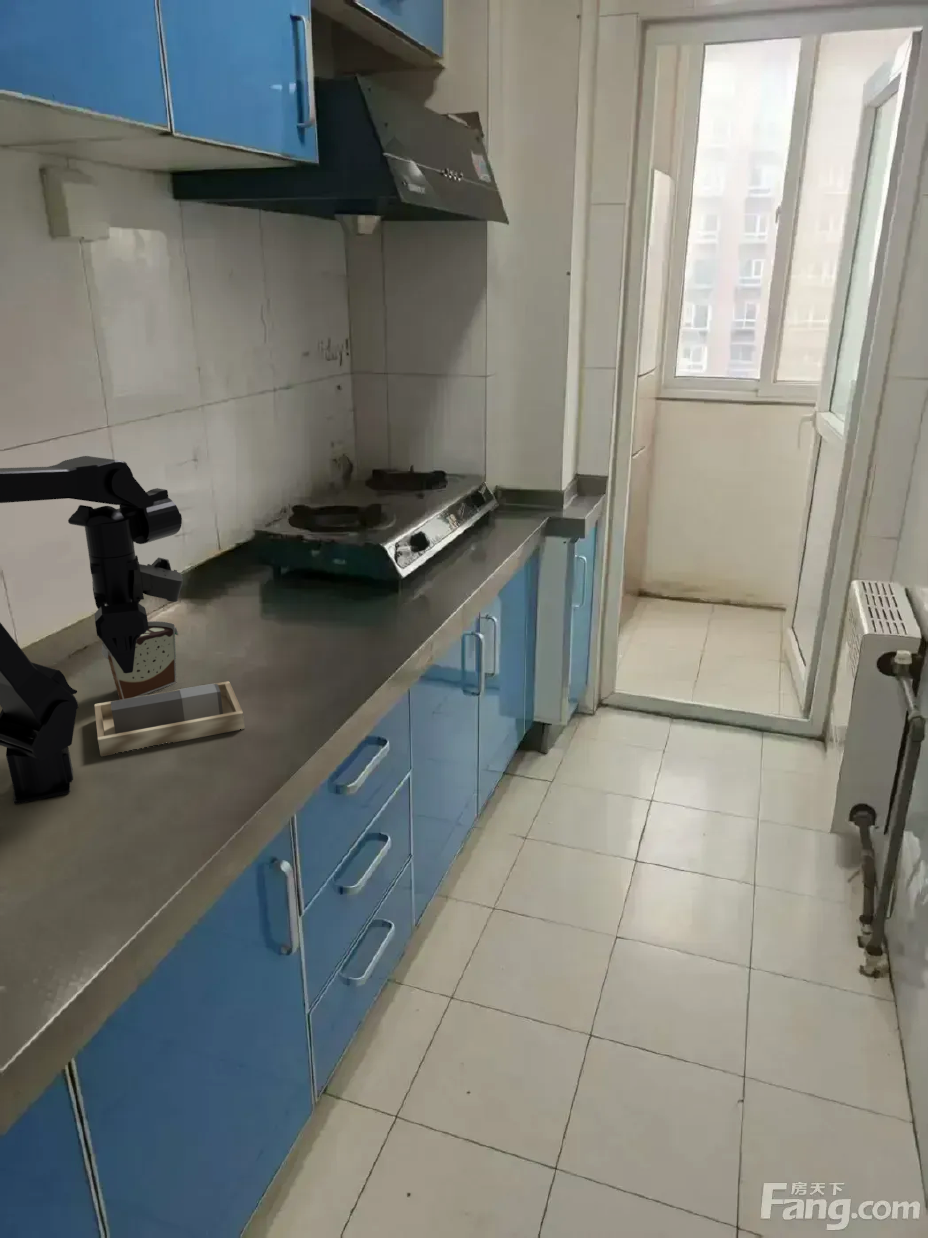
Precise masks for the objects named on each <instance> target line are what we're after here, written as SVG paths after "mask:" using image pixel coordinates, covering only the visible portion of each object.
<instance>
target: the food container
mask: <svg viewBox="0 0 928 1238" xmlns="http://www.w3.org/2000/svg"><path fill="white" fill-rule="evenodd" d="M148 628H149V629H148V630H147V631H146V633H144V634H142V635H141V636H140V637H139V638H138V639H137V640H136V648H135V657H134V666H133V672H132V673H124V672H123V671H122V669H121V668H120V666H119V665H118V663H117V662H116V660H115V659H114V657H113V656H112V654H111V653H110V651H109V650H108V648H107V647H106V646H105V644H104V643H103V642H102V643H101V655H102V656H103V658H105V659H106V660H108V663H109V666H110V670H111V674H112V676H113V682H114V685H115V689H116V692H117V694H118V698H119V699H118V700H122V699H128V698H133V697H139V696H145V695H149V694H152V693H153V692H156V691H159V690H161V689H163V688H167V687H168V686H171V685H173V684H176V683H177V662H176V661H177V660H176V659H177V658H176V657H177V656H176V655H177V654H176V636H180V635H179V631H178V629H177V627H176V626H175V623H173V622H168V621H160V620H159V621H158V620H154V621H153V620H152V621H148Z"/></svg>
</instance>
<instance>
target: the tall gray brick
mask: <svg viewBox="0 0 928 1238" xmlns="http://www.w3.org/2000/svg"><path fill="white" fill-rule="evenodd" d="M157 693H158V694H157ZM157 693H153V695H151V694H146V695H147V696H145V695H143V696H141V697H135V698H129V699H123V700H120V699H117V701H116V700H112V701H111V700H110V701H111V709H112V715H113V721H114V727H115V733H116V734H118V733H123V732H129V731H134V730H140V729H145V728H150V727H156V726H161V725H167V724H172V723H177V722H183V721H188V720H194V719H199V718H205V717H210V716H215V715H221V714H223V709H222V701H221V692H220V689H219V687H218V684H215V682H214V683H208V684H202V685H201V684H200V685H195V686H190V687H184V688H179V689H176V691H174V690H170V692H169V691H164V693H163V692H157Z"/></svg>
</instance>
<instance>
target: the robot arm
mask: <svg viewBox="0 0 928 1238" xmlns="http://www.w3.org/2000/svg"><path fill="white" fill-rule="evenodd" d="M64 499H69V500H78V501H85V502H91V503H92V502H93V503H97V504H98V503H99V504H106V505H103V506H99V507H92V506H89V505H83V504H79V505H78V507H77V510H76V511H75V512H73V513H72V514H71V516H70V517H69V518H68V520H67V521H68V523H69V524H70V525H74V526H79V527H84V531H85V537H86V544H87V545H86V546H87V551H88V559H89V568H90V569H89V570H90V574H91V579H92V593H93V597H94V598H93V599H94V602H95V603H94V604H95V606H96V608H97V610H96V611H95V613H94V623H95V624H94V625H95V630H96V636H98V638H99V639H100V640H101V641H102V643H104V644H105V646H106V647H107V648H108V650H109V651H110V653H111V654H112V656H113V657H114V659H115V660H116V662H117V663H118V665H119V666H120V668H121V669H122V671H123V672H124V673H132V672H133V666H134V657H135V648H136V640H137V639H138V638H139V637H140V636H141V635H142V634H144V633H146V631H147V630H148V629H149V628H148V615H147V614H148V613H147V610H146V607H145V606H144V605H142V604H140V602H141V601H142V600H145V598H144V597H145V596H144V595H147V596H150V597H154V598H160V599H165V600H167V601H168V602H171V603H176V602H178V600H179V597H180V592H181V589H182V586H183V582H184V579H183V576H182V574H181V573H180V572H178V571H177V569H173V570H172V567H171V563H170V561H169V559H167V558H164V557H163V558H162V557H157V558H156V559H155V560H154V561H153V562H152V563H151V564H150V563H147V564H141V563H140V562H139V559H138V558H139V557H138V555H137V554H136V552H135V551H136V550H135V544H138V545H144V544H147V543H152V542H154V541H158V540H161V539H164V538H167V537H171V536H174V535H176V534H177V533H178V532H180V529H181V528H182V525H183V519H182V518H183V517H182V513H180V511H179V508H178V506H177V505H176V503H175V501H174V500H172V499H171V498H169V492H168V489H164V488H158V487H157V488H152V489H149V490H148V491H145V489H144V488H143V487H142V485H141V484H140V483H139V482H138V481H137V479H136V478H135V477H134V475H133V472H132V469H131V468H130V466H129V465H128V463H127V462H126V461H123V460H120V459H112V458H105V457H99V456H89V455H83V456H79V457H78V456H77V457H74V458H70V459H65V460H62V461H61V462H59V463H56V464H55V465H54V464H53V465H49V466H29V467H27V466H26V467H24V466H23V467H0V504H8V503H21V502H33V501H35V502H36V501H37V502H38V501H50V500H52V501H53V500H64ZM107 504H108V505H107ZM111 505H112V506H111ZM113 505H115V506H119V508H115V507H113ZM134 543H135V544H134ZM76 694H78V690H76V689H75V688H73V687H71V686H70V685H69V683H68V681H67V678H66V677H65V675H64V673H63V672H61V670H59V669H56V668H52V667H50V666H46V665H43V664H39V663H36V662H33V661H31V660H30V658H28V657H27V655H26V654H25V652H24V650H23V649H22V648H21V647H20V646H19V645H18V644H17V642H16V640H15V639H14V638H13V637H12V636H11V634H10V633H9V632H8V630H7V629H6V628H5V627H4V625H3V624H2V622H0V707H1V711H0V746H1V747H4V748H6V753H5V757H6V762H7V765H8V771H9V775H10V781H11V784H12V788H13V793H12V794H13V796H12V800H13V802H12V803H13V804H15V805H19V804H23V803H28V802H33V801H36V800H38V801H39V800H43V799H48V798H51V797H57V796H61V795H63V796H64V795H67V794H69V793H70V792H71V783H72V782H73V781H74V770H73V764H72V760H71V754H70V749H69V747H70V746H71V745H72V743H73V737H74V732H75V722H76V716H77V711H78V709H79V702H78V699H77V698H76V696H75V695H76Z"/></svg>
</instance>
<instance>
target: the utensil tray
mask: <svg viewBox="0 0 928 1238" xmlns="http://www.w3.org/2000/svg"><path fill="white" fill-rule="evenodd" d="M214 684H218V687H219V689H220V692H221V701H222V709H223V714H221V715H215V716H210V717H205V718H199V719H194V720H188V721H183V722H177V723H172V724H167V725H161V726H156V727H150V728H145V729H140V730H134V731H129V732H123V733H118V734H116V733H115V727H114V721H113V715H112V709H111V700H110V701H105V702H99V703H95V704H94V713H95V714H94V715H95V723H96V733H97V734H96V735H97V742H98V743H97V744H98V749H99V754H100V757H106V756H111V755H116V754H119V753H118V752H122V753H125V752H124V751H127V752H129V751H128V750H131V749H137V750H140V749H139V748H142V749H145V748H144V747H147V748H149V747H148V746H153V745H158V744H162V743H166V742H167V743H168V744H170V743H169V742H173V743H177V742H183V741H189V740H194V739H198V738H204V737H208V736H213V735H215V736H216V735H219V734H223V733H224V734H225V733H229V732H234V731H235V732H236V731H241V730H244V729H245V718H244V712H243V709H242V707H241V705H240V703H239V700H238V698H237V696H236V694H235V691H234V689H233V687H232V685H231V683H230V681H228V680H227V681H223V682H222V681H221V682H214ZM176 690H177V689H176ZM176 690H173V691H176ZM170 691H171V690H170ZM170 691H168V692H170ZM164 692H165V691H164ZM164 692H162V693H164ZM158 693H159V692H157V693H156V694H158ZM153 694H154V693H153ZM153 694H152V693H150V695H153ZM147 695H148V694H145V695H144V696H147ZM139 697H141V696H139ZM133 698H135V697H133ZM128 699H129V698H128ZM117 700H118V699H117ZM117 700H115V701H117ZM122 700H123V699H122ZM240 729H241V730H240ZM158 746H159V745H158ZM153 747H154V746H153ZM115 753H116V754H115Z"/></svg>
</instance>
